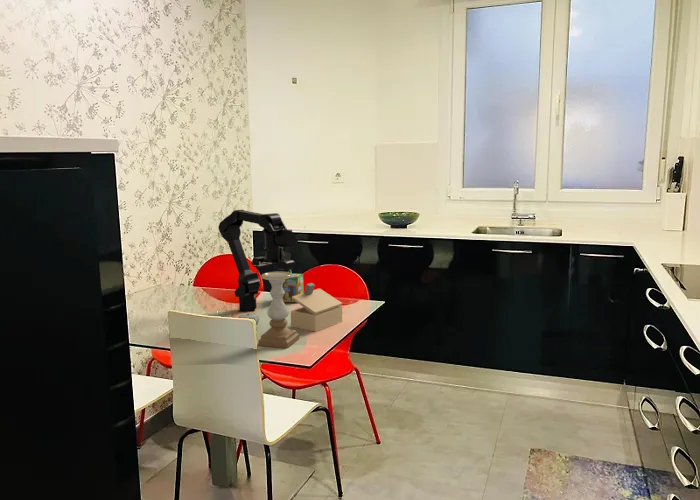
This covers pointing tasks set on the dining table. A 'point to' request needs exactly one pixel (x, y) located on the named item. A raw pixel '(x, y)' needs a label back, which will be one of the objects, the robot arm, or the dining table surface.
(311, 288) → the lid
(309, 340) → the dining table surface
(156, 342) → the dining table surface
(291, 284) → the chalk box
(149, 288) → the dining table surface
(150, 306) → the dining table surface
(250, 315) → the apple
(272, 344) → the candle holder
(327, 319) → the wooden box
